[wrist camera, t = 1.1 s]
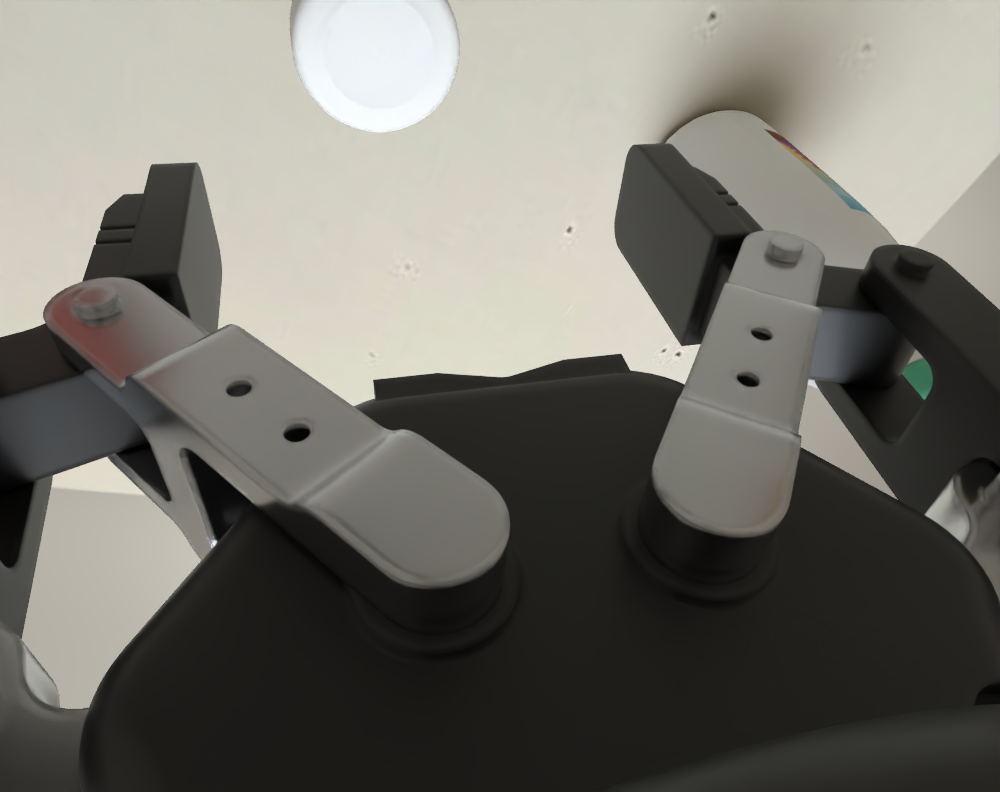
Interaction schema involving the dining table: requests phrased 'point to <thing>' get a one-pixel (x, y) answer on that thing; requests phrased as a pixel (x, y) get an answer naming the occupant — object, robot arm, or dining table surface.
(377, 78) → the spice jar
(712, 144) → the milk bottle
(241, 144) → the dining table surface
